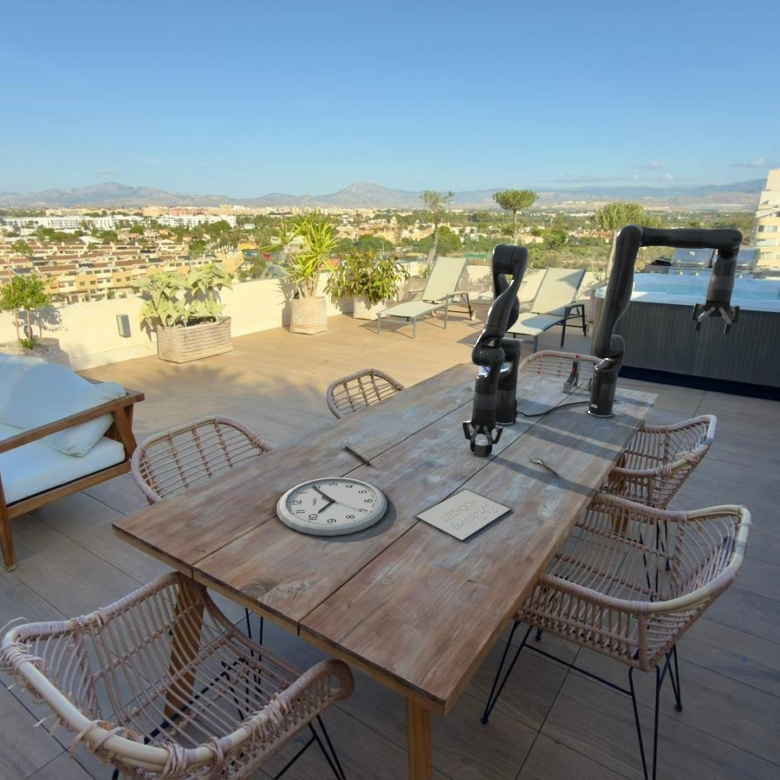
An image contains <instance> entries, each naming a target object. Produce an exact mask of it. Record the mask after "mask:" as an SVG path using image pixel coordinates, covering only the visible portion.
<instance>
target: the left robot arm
mask: <svg viewBox="0 0 780 780" xmlns="http://www.w3.org/2000/svg"><path fill="white" fill-rule="evenodd" d="M529 255H530V254H529V249H528V247H526V246H523V245H515V244H507V243H498V244H496V245H495V246H494V248H493V250H492V253H491V259H490V260H491V264H490V265H491V276H492V277H491V278H492V279H491V280H492V303H491V305H490V306H489V308H488V309H487V312H486V317H485V320H484V324H483V328H482V331H481V333H480V335H479V337H478V338H477V341H476V343H475V344H474V346H473V348H472V351H471V354H470V355H471V356H470V357H471V361H472V363H473V364H474V365H475V366H478V367H479V366H483V367H488V368H490V369H489V372H488V373H480V374H479V373H477V375H476V376H475V378H474V379H475V380H474V381H475V382H474V392H473V399H472V412H471V420H464V421H463V422H462V423H461V425H462V430H463V435H464V439H465V440H468V441H469V442H470V444H469V450H470V451H471V452H472V453H474V444H475V441H477V440H476V439H477V436H478V435H483V436H485V438H486V441H487V442H488V445H487V456H490V454H492V452H493V448H494V447H493V446H494V445H498V442H500V439H501V436H502V435H503V431H504V429H505V428H504V426H511V425H513V424H516V423H517V418H518V415H521V416H523V417H528V418H530V417H531V418H532V417H540V416H544V415H547V414H548V413H550V412H552V411H554V410H558V409H560V408H563V407H567V406H572V405H580V404H589V402H590V400H587V401H586V400H585V401H577V402H575V401H574V402H570V403H569V402H568V403H565V404H561V405H558V406H555V407H553V408H551V409H548V410H547V411H545V412H541V413H536V414H526V413H524V412H522V411H518V399H517V388H518V377H519V376H518V375H519V366H520V359H521V353H522V352H521V351H522V343H521V341H520V340H519V339H515V338H505V335H506V333H507V332H508V331H509V330H510V329H512V327H514V325H515V324H516V323H517V321H518V319H519V317H520V305H521V303H520V302H521V301H520V299H519V296H518V294H519V293H518V292H519V290H520V287H521V285H522V282H523V279H524V276H525V274H526V271H527V267H528V262H529ZM506 275H507V276H512V277H511V280H510V282H509V281H508V280H507V277H506ZM490 344H491V345H490ZM503 363H508V364H509V365H508V366H509V367H507V368H504V369H501V368H502V366H503ZM615 402H618V399H614V403H615ZM470 426H471V427H472V429H473V432H472V434H471V430H470ZM493 430H495V432H496V435H495V438H493V432H492V431H493Z"/></svg>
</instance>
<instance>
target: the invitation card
mask: <svg viewBox="0 0 780 780" xmlns="http://www.w3.org/2000/svg"><path fill="white" fill-rule="evenodd" d="M510 510H511V508H509V507H507V506H504V505H503V504H500V503H498V502H496V501H493V500H492V499H491V500H490V499H488V498H487V497H484V496H481V495H479V494H477V493H474V492H472V491H470V490H468V489H464V490H462V491H460V492H458V493H456V494H455V495H453V496H451V497H449V498H447V499H446V500H443V501H441V502H440V503H438V504H437V505H434V506H433V507H430V508H429V509H427V510H425V511H423V512H422V513H420V514H418V515H416V518H418V519H420V520H421V521H423V522H426V523H427V524H428V525H429V524H430V525H431V526H433V527H435V528H437V529H439V530H440V531H442V532H445V533H446V534H448V535H450V536H453V537H454V538H456V539H457V540H460V541H463V540H465V539H467V538H468V537H470V536H472V535H473V534H474V533H476V532H478V531H480V530H481V529H482V528H484V527H485V526H487V525H488V524H490V523H492V522H493V521H495V520H496V519H498V518H499V517H501V516H503V515H504V514H506V513H507V512H509V511H510Z"/></svg>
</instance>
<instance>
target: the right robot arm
mask: <svg viewBox="0 0 780 780" xmlns="http://www.w3.org/2000/svg"><path fill="white" fill-rule="evenodd" d="M743 241H744V235H743V233H742V232H741V231H740V229H738V228H713V229H712V228H702V227H701V228H700V227H699V228H697V227H685V228H683V227H682V228H657V227H656V228H654V227H649V226H648V227H647V226H642V225H638V224H628V225H625V226H623V227H621V228H620V229H619V231H618V232H617V234H616V237H615V250H614V258H613V264H612V267H611V270H610V274H609V278H608V281H607V285H606V289H605V295H604V299H603V305H602V310H601V313H600V319H599V323H598V326H597V329H596V331H595V335H594V338H593V342H592V352H593V355H594V356H595V357H596V359H602V361H600V362H599V363H597V364H596V365H594V367H593V375H592V377H589V382H588V384H587V388H588V390H589V392H590V397H589V401H590V402H589V403H588V410H587V413H588V414H589V415H591V416H593V417H597V418H611V417H612V416H613V409H614V404H615V402H614V400H615V398H616V397H615V396H616V389H617V384H618V376H619V372H620V371H621V369H622V365H623V361H624V355H625V351H626V343H625V340H624V338H623V337H622V336H621V335H619V334H613V333H614V330H615V327H616V326H617V323H618V321H619V320H620V319H621V317H622V316H623V315H624V314H625V312H626V310H627V309H628V308H629V305H630V303H631V300H632V295H633V291H634V290H633V289H634V283H635V282H634V281H635V265H636V260H637V257H638V255H639V250H640V249H641V248H646V247H664V248H665V247H666V248H671V249H672V248H674V249H684V250H706V249H708V250H709V249H710V250H716V251H715V258H714V260H713V261H714V262H713V264H712V269H711V274H710V278H709V281H708V286H707V291H706V296H705V301H704V303H699V302H695V303H694V305H693V309H692V312H691V316H690V318H691V320H692V321H694V322H695V326H694V331H696V333H700V331H701V326H702V321H703V320H704V319H705V318H707V317H708V316H709V317H710V318H713V317H716V318H721V317H722V318H723V319H724V321H725V325H724V329H723V335H724V336H726V335H728V334H729V333H730V331H731V326H732V325H733V324H737V323H738V322H739V315H740V310H741V307H740V306H739V305H737V304H736V305H731V299H732V297H733V296H732V295H733V291H734V288H735V278H736V272H737V267H738V256H739V252H740V249H741V244H742V243H743ZM702 308H703V310H704V311H703V312H702V313H701V314H700V315H699V316H698V317H697V315H698V311H699V310H701V309H702ZM730 310H731V311H732V312H733V314H732V315H733V316H732V319H730V317H729V315H728V314H727V313H728V312H729V311H730Z"/></svg>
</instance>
